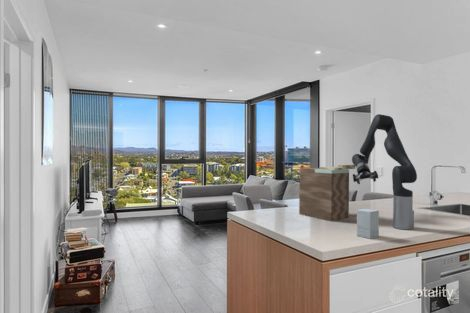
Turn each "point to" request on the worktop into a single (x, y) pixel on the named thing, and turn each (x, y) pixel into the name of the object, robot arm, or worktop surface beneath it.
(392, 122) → the robot arm
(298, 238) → the worktop surface
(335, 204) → the walnut stand
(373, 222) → the supplement box
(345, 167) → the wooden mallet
